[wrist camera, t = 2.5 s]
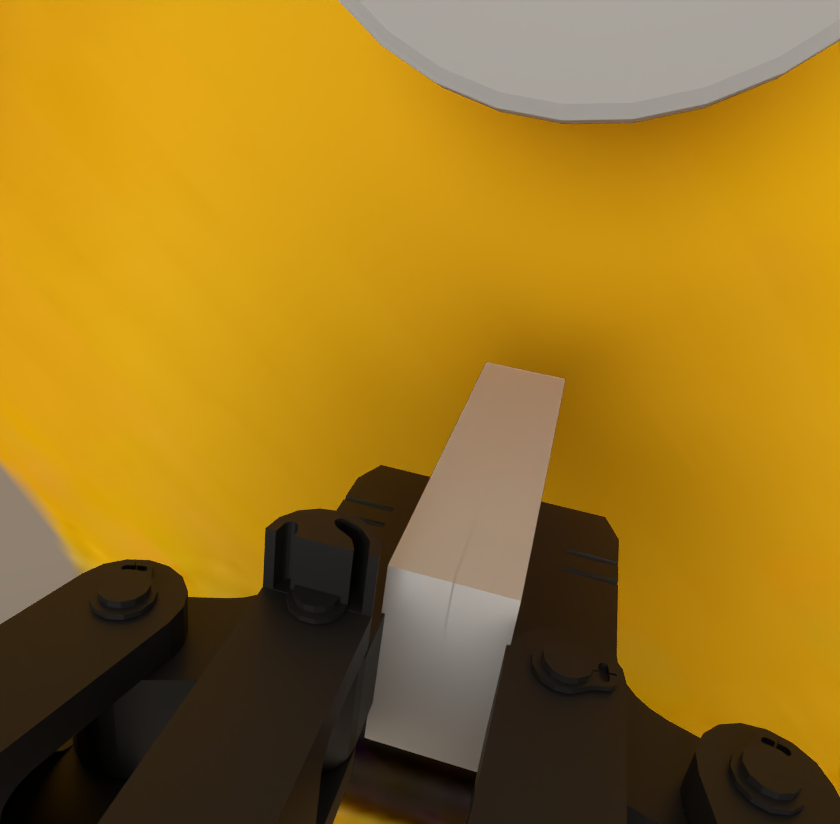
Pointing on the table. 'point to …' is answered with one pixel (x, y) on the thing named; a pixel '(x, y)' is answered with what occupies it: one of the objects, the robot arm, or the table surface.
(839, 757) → the table surface
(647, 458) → the table surface
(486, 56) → the canned food
